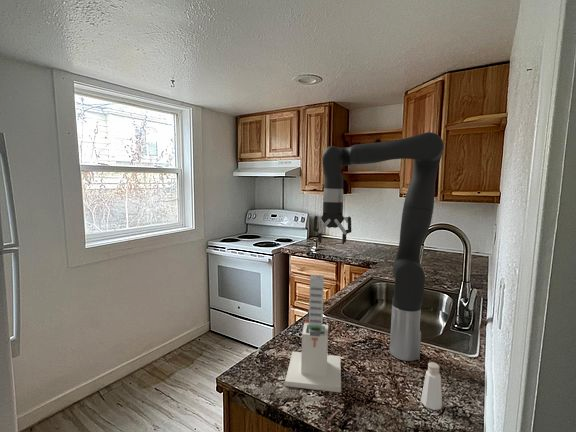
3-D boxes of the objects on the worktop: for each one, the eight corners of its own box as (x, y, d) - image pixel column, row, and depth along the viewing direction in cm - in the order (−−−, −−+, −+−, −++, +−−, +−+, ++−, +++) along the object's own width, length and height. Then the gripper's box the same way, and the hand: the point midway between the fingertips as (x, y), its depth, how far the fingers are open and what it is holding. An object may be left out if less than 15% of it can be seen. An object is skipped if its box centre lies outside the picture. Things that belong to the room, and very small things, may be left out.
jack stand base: (340, 360, 101) (341, 316, 99) (341, 392, 85) (342, 341, 84) (292, 355, 103) (293, 312, 102) (284, 386, 88) (285, 335, 86)
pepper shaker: (435, 413, 78) (438, 373, 77) (416, 401, 82) (418, 363, 81) (446, 405, 81) (449, 366, 80) (427, 393, 85) (429, 356, 84)
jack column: (321, 343, 95) (323, 275, 93) (321, 351, 91) (323, 279, 89) (309, 342, 96) (310, 274, 93) (308, 350, 91) (309, 279, 89)
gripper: (351, 200, 117) (350, 242, 118) (314, 199, 119) (313, 240, 120) (353, 201, 109) (351, 246, 111) (313, 200, 111) (312, 244, 113)
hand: (331, 243), depth 116 cm, fingers open, 8 cm apart
